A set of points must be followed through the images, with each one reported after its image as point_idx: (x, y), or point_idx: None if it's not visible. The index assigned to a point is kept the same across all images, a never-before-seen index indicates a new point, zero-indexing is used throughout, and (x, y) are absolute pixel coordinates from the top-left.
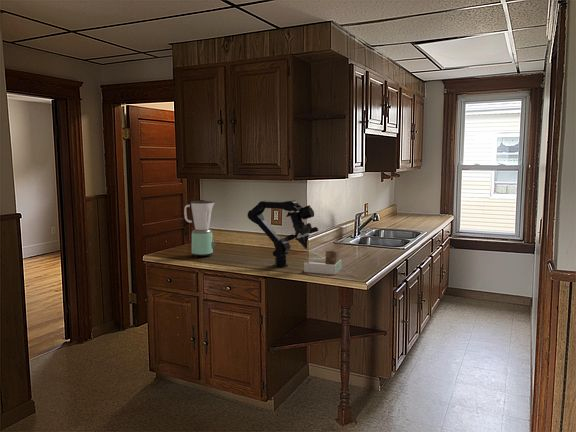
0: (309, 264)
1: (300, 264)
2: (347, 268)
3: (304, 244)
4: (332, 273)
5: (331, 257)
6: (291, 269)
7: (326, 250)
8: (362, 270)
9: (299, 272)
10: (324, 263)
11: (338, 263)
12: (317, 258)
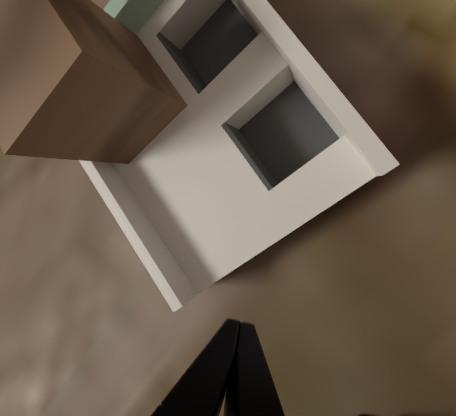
0: (356, 114)
1: None
2: None
3: (256, 401)
4: None
5: (106, 30)
6: (414, 312)
7: (59, 78)
8: None
9: (432, 178)
10: (156, 168)
11: (110, 11)
12: (150, 254)
